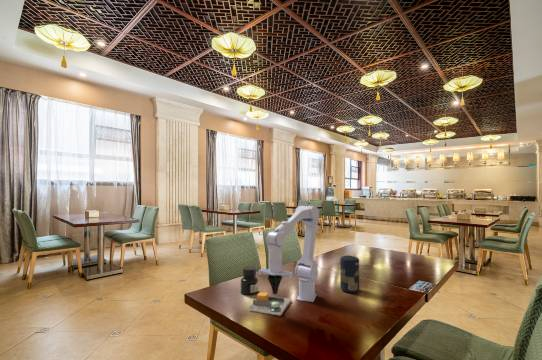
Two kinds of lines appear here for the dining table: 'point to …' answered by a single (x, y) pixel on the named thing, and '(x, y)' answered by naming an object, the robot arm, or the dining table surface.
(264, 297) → the toggle
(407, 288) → the dining table surface
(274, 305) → the button
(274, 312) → the panel
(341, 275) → the canister
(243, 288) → the ink bottle
